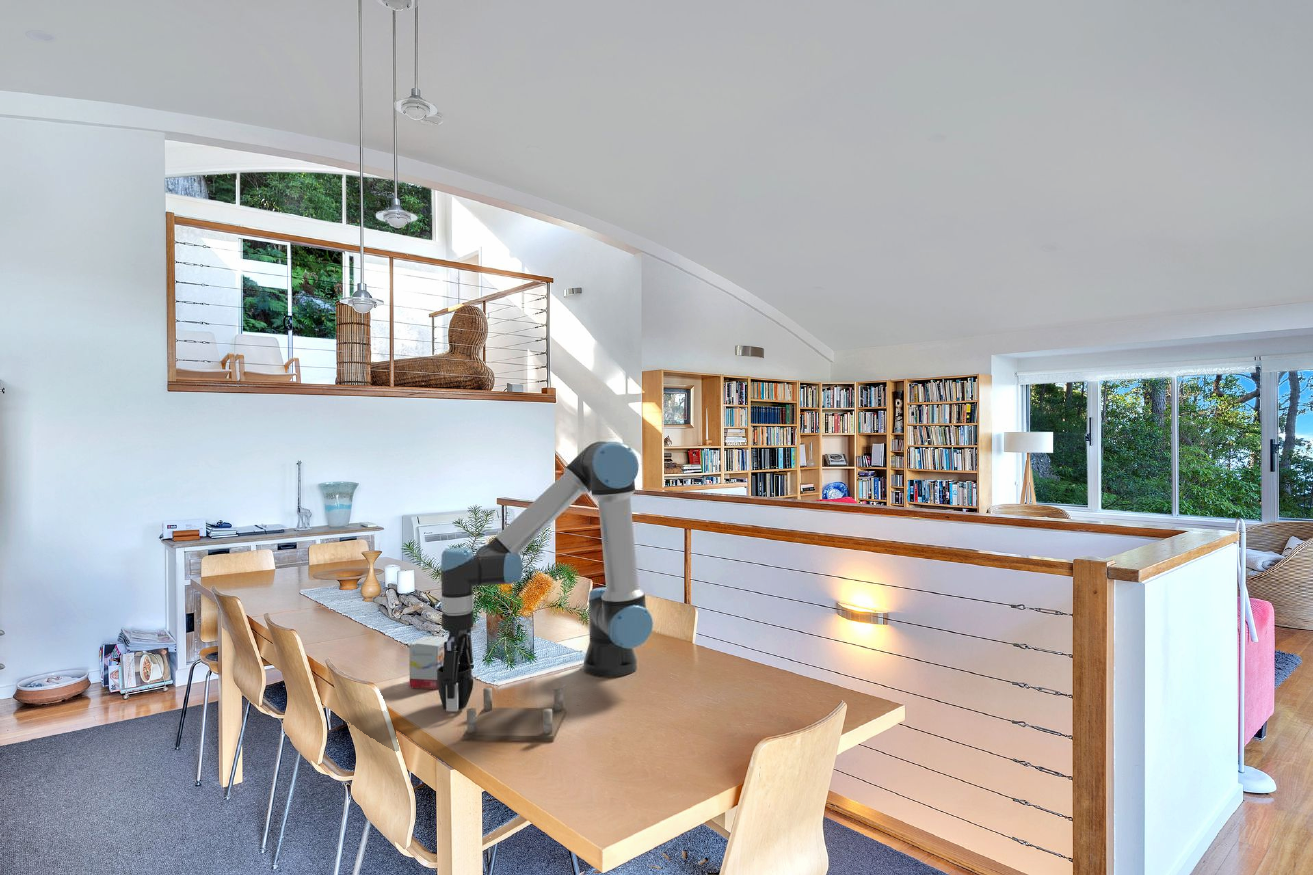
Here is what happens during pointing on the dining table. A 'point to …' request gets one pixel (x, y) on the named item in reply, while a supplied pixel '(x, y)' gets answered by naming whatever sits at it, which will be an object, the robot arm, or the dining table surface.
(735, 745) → the dining table surface
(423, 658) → the ink box
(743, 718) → the dining table surface
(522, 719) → the brown board with pegs
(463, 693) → the mug
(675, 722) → the dining table surface
